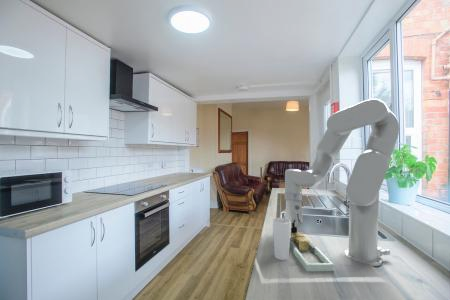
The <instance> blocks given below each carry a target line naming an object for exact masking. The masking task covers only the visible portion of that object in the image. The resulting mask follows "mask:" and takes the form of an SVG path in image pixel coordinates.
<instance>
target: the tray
mask: <svg viewBox="0 0 450 300" xmlns="http://www.w3.org/2000/svg"><path fill="white" fill-rule="evenodd" d="M293 254H294V256H295V257H296V259H297V260H298V261H299V263H300V265H301V266H302V267H303V269H305V271H306V272H334V271H335V264H334V262H332V261H331V259H330V258H328V257H327V256H326V255H325V253H323V252H322V250H321V249H319V247H316V246H315V253H314V254H315V255H316V256H317V257H318V259H319V260H321V262H309V261H307V259H306V258H305V256H303V253H300V252H299V250H298V249H297V248H294V251H293Z"/></svg>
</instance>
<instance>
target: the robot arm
mask: <svg viewBox="0 0 450 300" xmlns="http://www.w3.org/2000/svg"><path fill="white" fill-rule="evenodd" d="M366 126H370V128H371V131H370V133H369V136H368V139H367V143H366V145H365V148H364V151H363V152H362V153H361V154H360V155H358V157H357V159H356V161H355V163H354V165H353V168H352V172H351V173H350V177H349V180H348V182H347V185H346V189H345V194H346V197H347V199H348V201H349V207H348V208H349V210H348V213H349V214H348V248H347V249H345V250H344V254H345V256H347V258H350V259H352V260H353V261H357V262H358V263H362V264H369V265H370V266H372V267H378V266H382V264H383V258H382V256H390V254H391V251H390V250H389V249H383V248H382V247H380V246H379V247H378V241H379V240H378V239H379V235H378V234H379V206H380V205H379V200H380V190H381V188H382V185H383V183H384V180H385V177H386V175H387V172H388V169H389V166H390V161H391V157H392V155H393V152H394V149H395V146H396V144H397V141H398V137H399V134H400V123H399V121H398V118H397V116H396V115H395V114H394V113H393V112H392V111H391V110H390V109H389V108H388V105H387V104H386V103H385V102H384V101H383V100H381V99H378V98H370V99H366V100H363V101H361V102H358V103H356V104H354V105H352V106H348V107H346V108H343V109H341V110H338V111H336V112H334V113H332V114H331V115H329V117H328V118H327V120H326V131H325V132H324V134H323V135H322V137H321V138H320V141H319V142H318V144H317V147H316V151H317V153H316V157H315V159H314V162H313V163H312V165H311V166H310V168H309V169H306V170H301V169H299V168H297V169H296V168H289V169H286V170H284V171H285V172H284V200H285V202H286V203H285V218H286V219H289V220H290V221H291V237H290V238H292V233H298V227H299V223H300V224H303V205H302V198H303V197H302V196H303V188H307V189H310V188H311V189H312V188H315V187H316V186H318V185H320V184H322V182H323V181H324V179H325V178H326V176H327V175H328V173H329V172H330V169H331V168H332V166H333V165H334V162H335V160H336V158H337V155H338V154H339V152H340V151H341V150H342V148H343V146H344V145H345V143H346V142H347V140H348V138H349V137H350V135H351V133H352V131H354V130H358V129H361V128H364V127H366Z"/></svg>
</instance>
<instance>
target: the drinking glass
mask: <svg viewBox="0 0 450 300" xmlns="http://www.w3.org/2000/svg"><path fill="white" fill-rule="evenodd" d="M272 237H273V251H274V252H273V253H274V258H276V259H277V260H280V261H286V260H289V258H290V248H291V247H290V239H291V238H292V237H291V221H290V220H289V219H288V218H287V217H275V218H274V219H272Z"/></svg>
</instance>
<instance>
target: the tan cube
mask: <svg viewBox="0 0 450 300" xmlns="http://www.w3.org/2000/svg"><path fill="white" fill-rule="evenodd" d="M305 237H306V236H305ZM305 237H296V246H297V247H298V250H299V251H309V241H310V240H309V239H308V238H307V237H306V238H307V239H308V240H309V241H308V240H307V239H306V238H305Z"/></svg>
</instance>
